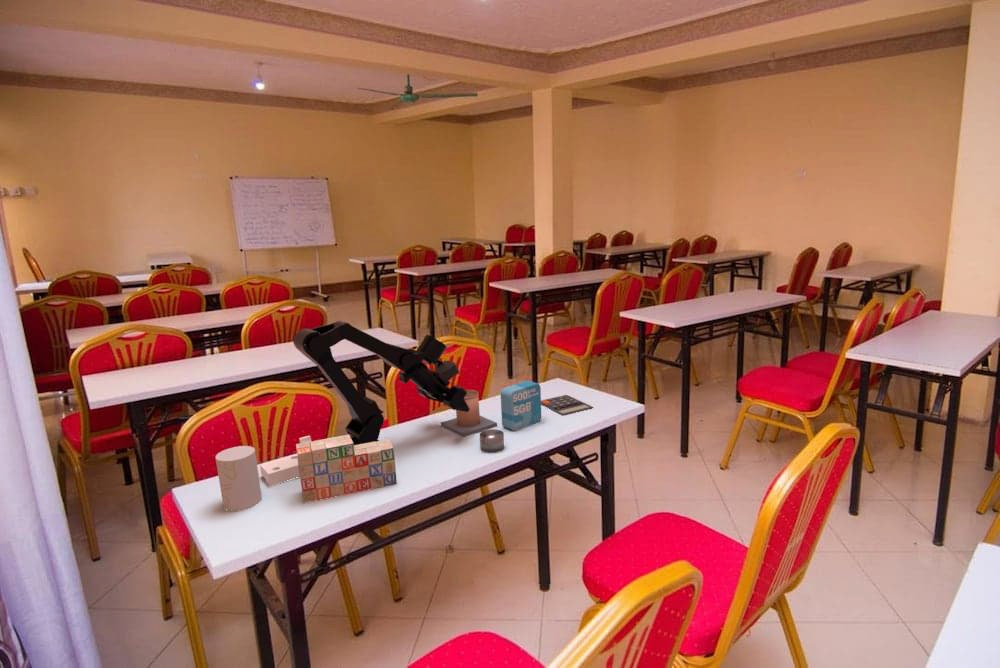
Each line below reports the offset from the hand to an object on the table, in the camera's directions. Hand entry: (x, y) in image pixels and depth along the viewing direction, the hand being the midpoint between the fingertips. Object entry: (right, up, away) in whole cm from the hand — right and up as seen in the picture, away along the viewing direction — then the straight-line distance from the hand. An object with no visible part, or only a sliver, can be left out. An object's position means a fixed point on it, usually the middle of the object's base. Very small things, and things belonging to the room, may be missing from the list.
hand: (459, 406), depth 172 cm
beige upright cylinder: (-47, -18, -37) cm, 62 cm away
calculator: (+32, -2, +17) cm, 37 cm away
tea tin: (+10, -9, -13) cm, 19 cm away
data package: (+18, -6, +2) cm, 19 cm away
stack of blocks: (-24, -16, -32) cm, 43 cm away
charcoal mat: (+3, -6, +3) cm, 7 cm away
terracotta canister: (+2, -5, +3) cm, 6 cm away
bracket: (-40, -14, -23) cm, 49 cm away
